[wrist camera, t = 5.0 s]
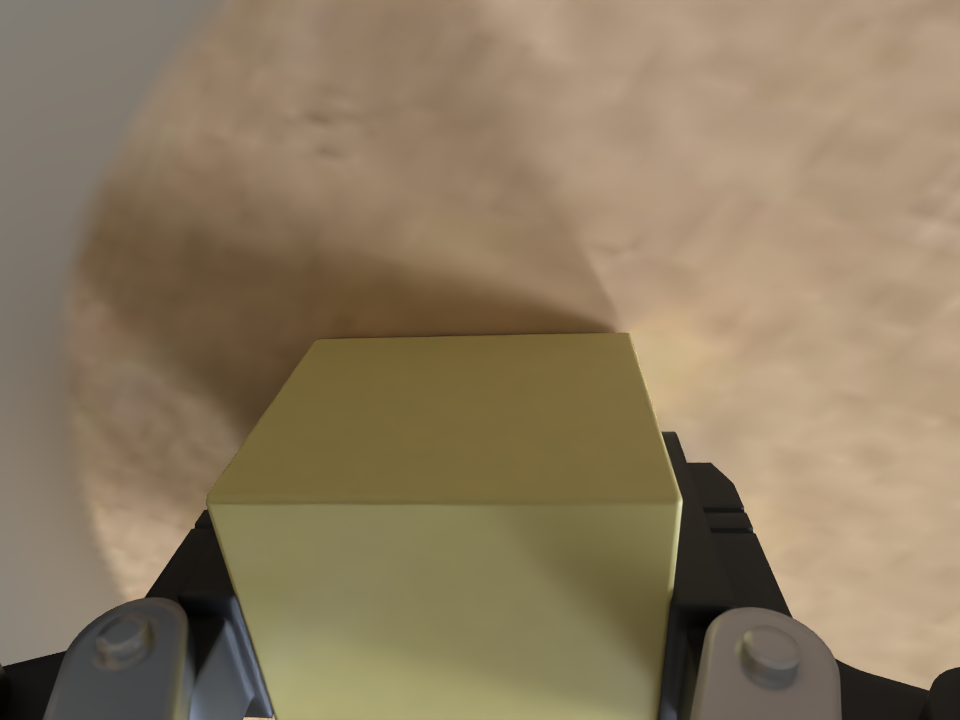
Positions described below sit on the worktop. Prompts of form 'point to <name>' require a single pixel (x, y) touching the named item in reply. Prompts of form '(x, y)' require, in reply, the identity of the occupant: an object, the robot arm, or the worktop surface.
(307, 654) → the butter
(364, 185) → the worktop surface
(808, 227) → the worktop surface
